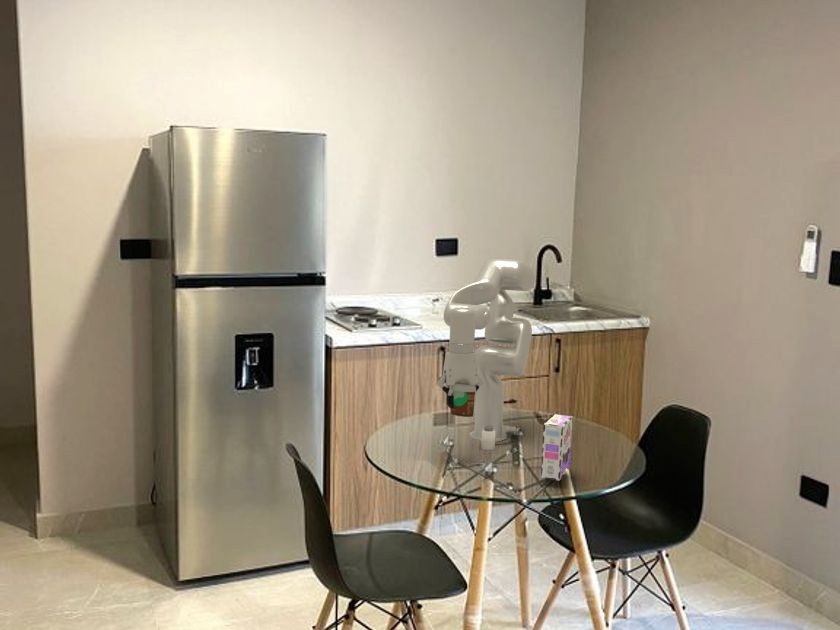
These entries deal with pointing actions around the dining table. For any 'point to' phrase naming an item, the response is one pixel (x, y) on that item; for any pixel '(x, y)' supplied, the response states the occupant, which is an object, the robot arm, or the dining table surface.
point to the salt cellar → (488, 438)
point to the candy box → (556, 446)
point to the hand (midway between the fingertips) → (459, 406)
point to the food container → (463, 400)
